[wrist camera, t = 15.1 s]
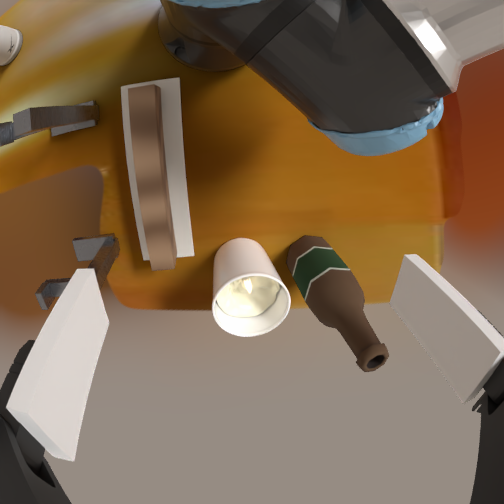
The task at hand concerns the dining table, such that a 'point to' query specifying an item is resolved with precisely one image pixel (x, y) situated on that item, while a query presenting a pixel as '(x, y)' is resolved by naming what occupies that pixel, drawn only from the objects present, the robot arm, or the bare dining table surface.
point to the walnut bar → (152, 175)
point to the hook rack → (60, 122)
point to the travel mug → (9, 44)
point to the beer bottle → (335, 298)
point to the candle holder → (247, 290)
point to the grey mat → (173, 164)
